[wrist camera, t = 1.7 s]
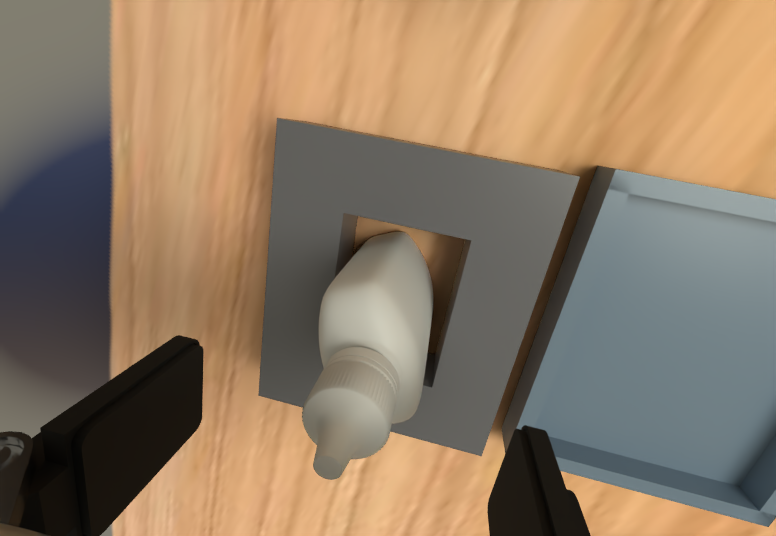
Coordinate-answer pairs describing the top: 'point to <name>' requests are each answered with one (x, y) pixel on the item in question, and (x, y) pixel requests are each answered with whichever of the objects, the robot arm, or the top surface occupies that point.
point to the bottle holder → (421, 211)
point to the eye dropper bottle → (369, 351)
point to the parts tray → (662, 346)
